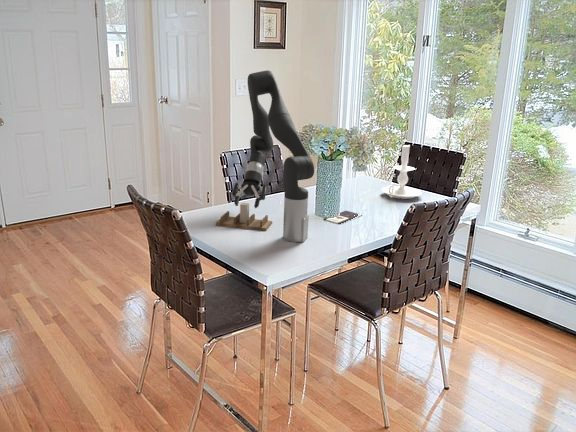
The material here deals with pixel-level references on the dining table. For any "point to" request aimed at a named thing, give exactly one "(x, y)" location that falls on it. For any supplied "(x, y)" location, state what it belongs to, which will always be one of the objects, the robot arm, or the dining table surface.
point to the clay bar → (244, 212)
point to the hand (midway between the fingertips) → (245, 206)
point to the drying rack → (250, 224)
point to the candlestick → (402, 179)
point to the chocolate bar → (342, 217)
